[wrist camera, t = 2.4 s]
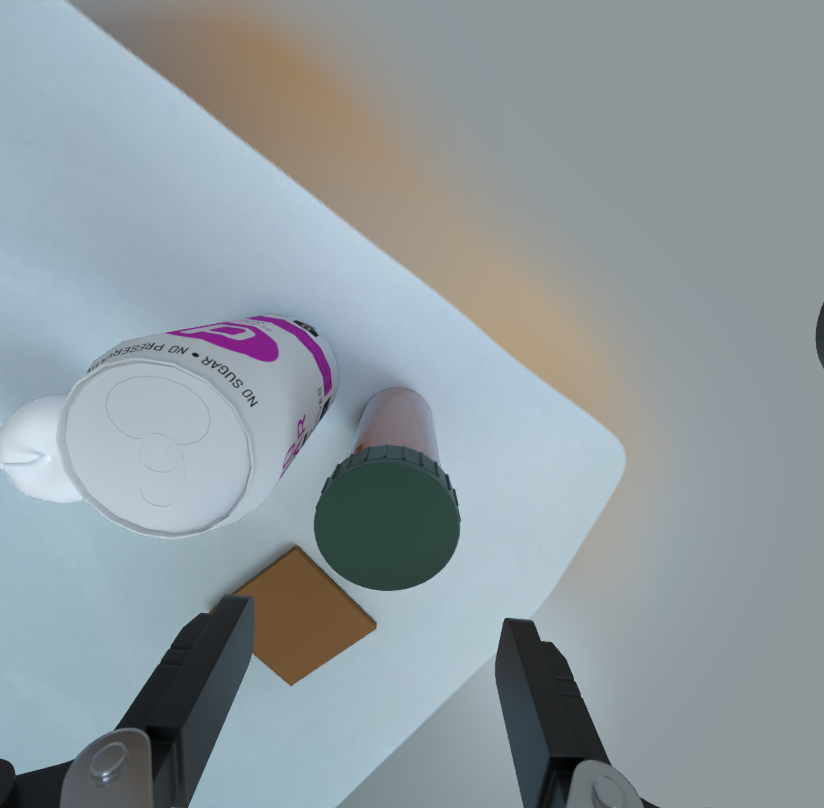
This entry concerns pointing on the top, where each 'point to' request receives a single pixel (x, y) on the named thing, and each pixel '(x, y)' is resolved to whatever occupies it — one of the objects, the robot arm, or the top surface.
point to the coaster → (301, 617)
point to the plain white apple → (36, 451)
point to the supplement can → (194, 422)
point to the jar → (397, 423)
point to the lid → (387, 518)
